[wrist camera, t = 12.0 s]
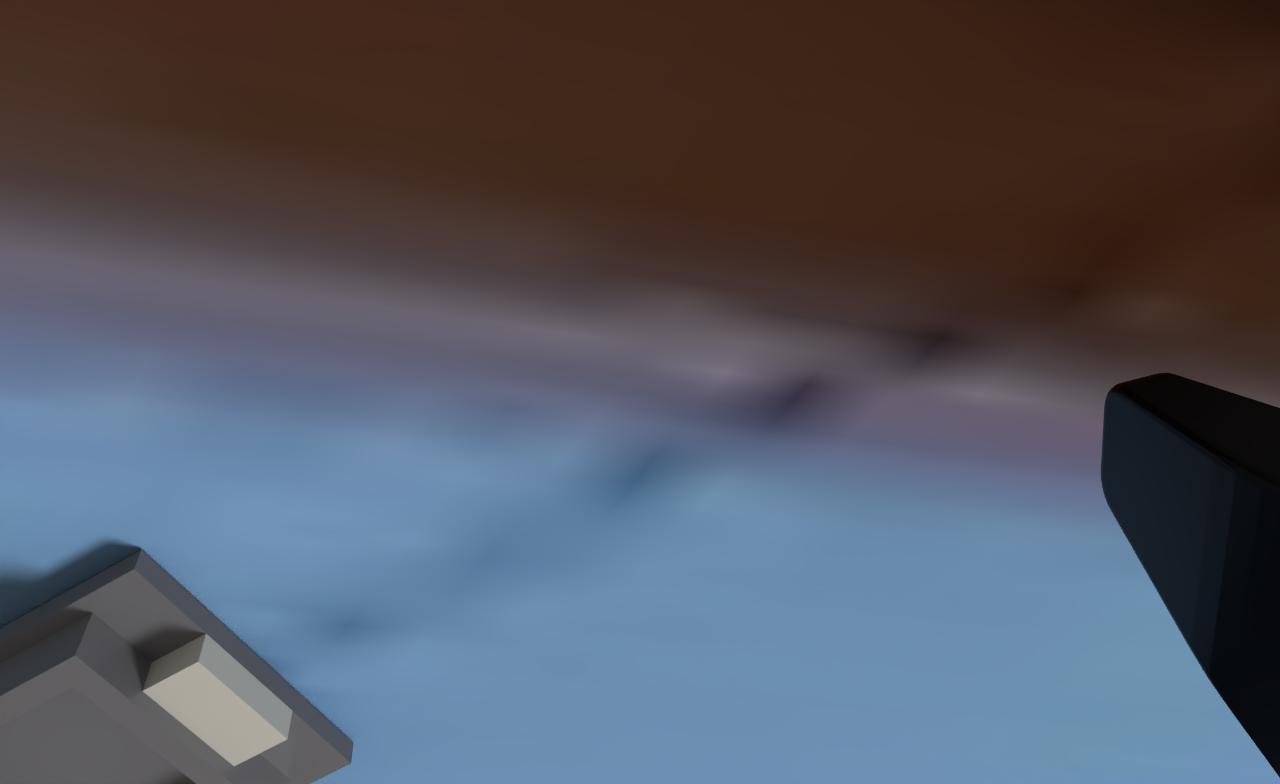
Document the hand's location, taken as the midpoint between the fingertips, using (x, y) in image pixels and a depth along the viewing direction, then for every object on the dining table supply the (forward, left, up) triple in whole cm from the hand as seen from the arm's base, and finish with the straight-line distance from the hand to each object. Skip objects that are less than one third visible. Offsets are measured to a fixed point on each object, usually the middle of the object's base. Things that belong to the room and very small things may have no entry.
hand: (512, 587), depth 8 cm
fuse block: (+5, +17, -13) cm, 22 cm away
